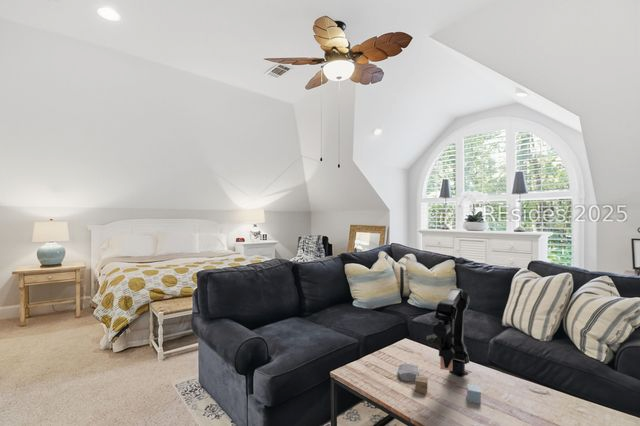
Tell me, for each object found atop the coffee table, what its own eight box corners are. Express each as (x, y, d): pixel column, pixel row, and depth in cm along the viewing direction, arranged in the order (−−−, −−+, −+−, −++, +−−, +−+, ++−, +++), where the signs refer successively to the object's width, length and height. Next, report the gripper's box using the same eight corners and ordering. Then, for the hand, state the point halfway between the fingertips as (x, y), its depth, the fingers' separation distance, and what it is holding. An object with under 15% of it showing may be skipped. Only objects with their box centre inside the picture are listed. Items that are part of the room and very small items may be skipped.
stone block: (400, 384, 158) (421, 382, 156) (398, 374, 158) (419, 372, 156) (398, 373, 170) (418, 370, 168) (397, 363, 170) (416, 361, 168)
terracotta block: (440, 363, 150) (440, 353, 150) (452, 365, 149) (452, 354, 149) (440, 368, 146) (440, 357, 146) (452, 370, 144) (452, 359, 144)
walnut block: (416, 385, 153) (416, 375, 153) (427, 388, 151) (427, 377, 151) (415, 391, 148) (415, 380, 148) (426, 393, 147) (427, 382, 147)
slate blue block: (466, 395, 145) (467, 384, 145) (479, 397, 144) (479, 386, 143) (467, 401, 141) (467, 390, 141) (480, 404, 139) (480, 392, 139)
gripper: (428, 321, 158) (428, 353, 159) (426, 335, 141) (426, 371, 141) (453, 324, 155) (453, 357, 155) (454, 339, 137) (454, 376, 137)
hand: (446, 364), depth 147 cm, fingers closed on terracotta block, 5 cm apart
